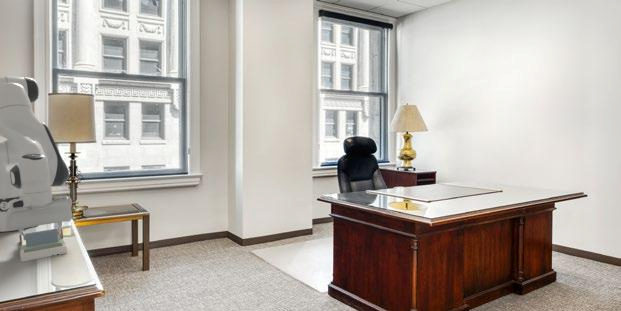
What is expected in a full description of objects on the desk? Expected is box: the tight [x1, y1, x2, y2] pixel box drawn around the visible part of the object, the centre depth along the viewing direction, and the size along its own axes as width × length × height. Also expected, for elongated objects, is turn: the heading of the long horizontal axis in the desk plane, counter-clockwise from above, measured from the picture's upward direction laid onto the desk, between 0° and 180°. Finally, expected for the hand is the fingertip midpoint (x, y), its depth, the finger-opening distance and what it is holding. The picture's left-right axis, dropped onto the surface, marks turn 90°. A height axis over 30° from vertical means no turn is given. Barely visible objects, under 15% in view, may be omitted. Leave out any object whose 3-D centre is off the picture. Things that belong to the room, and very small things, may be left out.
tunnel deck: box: [18, 226, 68, 262], centre depth 153 cm, size 33×13×6 cm, turn 35°
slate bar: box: [25, 228, 58, 247], centre depth 148 cm, size 4×10×4 cm, turn 125°
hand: (41, 237), depth 150 cm, fingers open, 8 cm apart
